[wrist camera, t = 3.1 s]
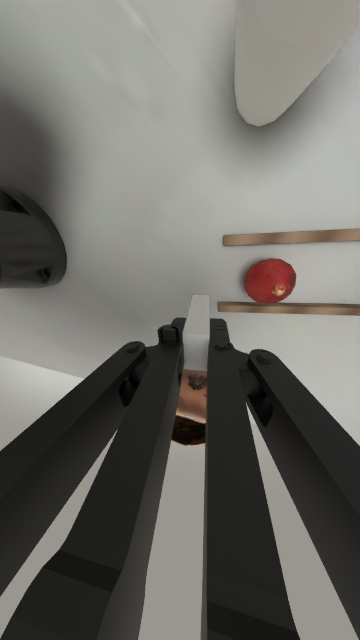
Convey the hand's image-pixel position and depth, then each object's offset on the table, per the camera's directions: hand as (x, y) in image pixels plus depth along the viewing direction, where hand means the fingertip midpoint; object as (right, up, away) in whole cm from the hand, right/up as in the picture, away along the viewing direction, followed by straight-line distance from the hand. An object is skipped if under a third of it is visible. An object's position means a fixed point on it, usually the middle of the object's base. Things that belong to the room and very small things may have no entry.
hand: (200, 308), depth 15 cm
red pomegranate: (+10, +6, +9) cm, 15 cm away
